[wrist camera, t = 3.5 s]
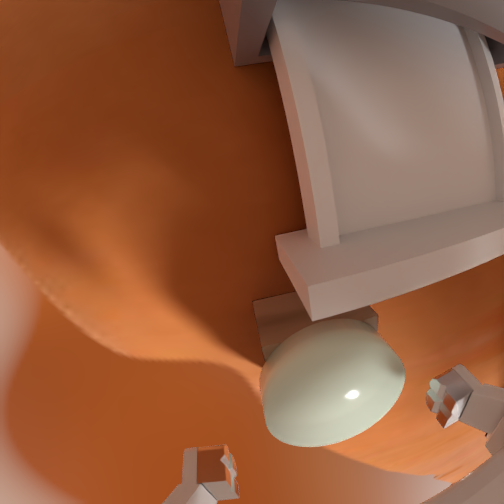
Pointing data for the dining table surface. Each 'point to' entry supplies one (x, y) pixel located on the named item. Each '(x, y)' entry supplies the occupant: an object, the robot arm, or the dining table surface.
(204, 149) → the dining table surface
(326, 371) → the pale green disc
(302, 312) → the walnut block
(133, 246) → the dining table surface
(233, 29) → the grey drawer cabinet
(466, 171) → the white drawer
